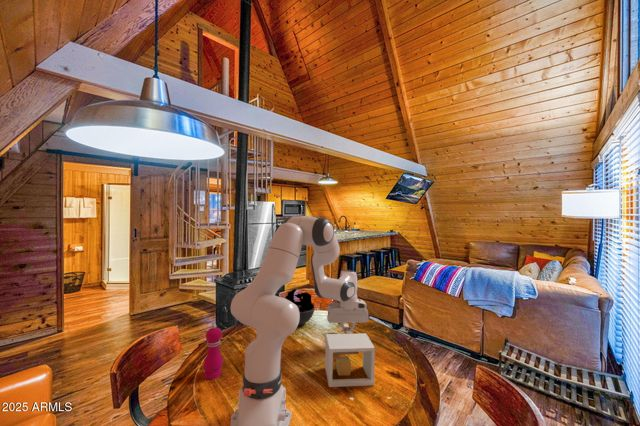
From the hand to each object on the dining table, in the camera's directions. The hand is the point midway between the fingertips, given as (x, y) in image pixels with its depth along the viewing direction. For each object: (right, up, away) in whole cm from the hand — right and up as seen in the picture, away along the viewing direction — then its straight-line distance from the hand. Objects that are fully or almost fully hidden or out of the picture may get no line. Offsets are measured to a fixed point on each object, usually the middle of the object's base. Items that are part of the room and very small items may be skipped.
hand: (347, 330), depth 131 cm
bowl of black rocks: (-27, -8, +26) cm, 38 cm away
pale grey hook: (-4, -1, -1) cm, 4 cm away
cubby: (-2, -8, -24) cm, 25 cm away
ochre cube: (-4, -8, -21) cm, 23 cm away
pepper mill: (-56, -7, -25) cm, 62 cm away
